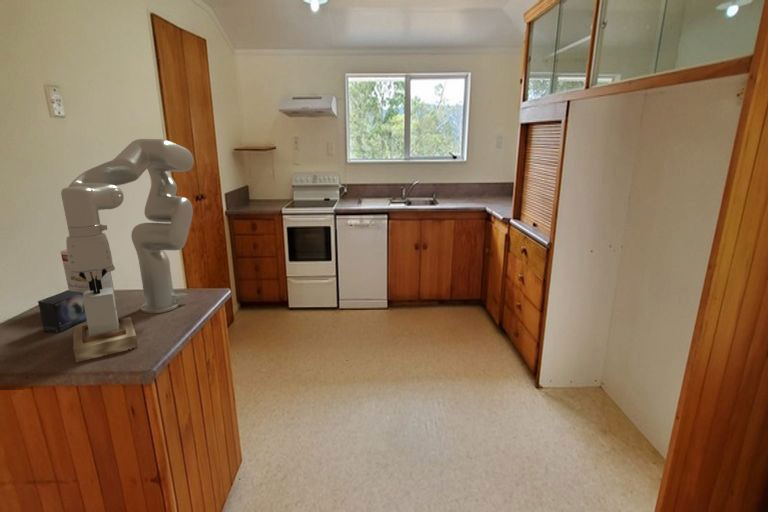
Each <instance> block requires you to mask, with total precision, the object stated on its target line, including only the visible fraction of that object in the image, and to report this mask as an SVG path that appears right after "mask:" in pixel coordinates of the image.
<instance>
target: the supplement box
mask: <svg viewBox="0 0 768 512" xmlns="http://www.w3.org/2000/svg"><path fill="white" fill-rule="evenodd" d="M113 287H114V286H113ZM113 287H108V288H102V289H100V293H96V294H94V293H93V291H90V290H88V291H84V295H83V303H84V308H85V313H86V319H87V321H86V323H87V324H86V325H88V329H89V334H90V337H91V336H96V335H101V334H105V333H110V332H115V331H119V322H118V319H119V317H118V311H117V306H116V305H117V304H116V301H115V298H116V297H115V298H114V293H115V291H114V292H113ZM96 292H97V289H96Z"/></svg>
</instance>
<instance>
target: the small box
mask: <svg viewBox="0 0 768 512" xmlns="http://www.w3.org/2000/svg"><path fill="white" fill-rule="evenodd" d="M37 303H38V308H39V313H40V316H41V318H40V319H41V322H42V327H43V331H44V332H48V333H55V334H59V333H62V332H64V331H67V330H68V329H71V328H74V327H76V326H78V325H80V324H82V323H85V322H87V321H86V320H87V319H86V313H85V308H84V303H83V293H82V292H76V291H69V289H68V290H65V291H63V292H59V293H57V294H54V295H51V296H48V297H46V298H43V299H41V300H40V299H39V300H38V301H37Z"/></svg>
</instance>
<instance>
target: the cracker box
mask: <svg viewBox="0 0 768 512" xmlns="http://www.w3.org/2000/svg"><path fill="white" fill-rule="evenodd" d="M60 255H61V260H62V264H63V269H64V275H65V278H66V279H65V280H66V284H67V288H68V290H69V291H76V292H82V293H83V295H84V291H88V290H90V287H89V282H88V281H87V280H86V279H84V278H82V277H75V276H70V267H69V262H68V255H67V248H66V249H64V250H61V251H60ZM90 274H91V276H92V277H93V279H94V281H95V276H96V270H93V271H90ZM101 283H102V288H108V287H113V292H114V298H115V302H116V301H117V299H116V294H115V288H114V282H113V276H112V271H111V272H107V273H106V274H105V275H104V276H103V277H102V279H101ZM95 286H96V283H95Z"/></svg>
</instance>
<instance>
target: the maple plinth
mask: <svg viewBox="0 0 768 512" xmlns="http://www.w3.org/2000/svg"><path fill="white" fill-rule="evenodd" d="M118 322H119V331H115V332H110V333H105V334H101V335H96V336H91V337H90V334H89V329H88V324H84V325H81V326H77V327H73V340H72V341H73V346H72V347H73V354H74V358H75V359H74V360H75V363H79V361H80V362H84V361H87V360H92V359H96V358H101V357H104V356H103V355H105V356H109V355H112V354H116V353H120V352H125V351H129V350H128V349H130V350H133V349H132V348H134V349H136V348H135V347H138V348H139V345H138V339H137V334H136V331H135V327H134V323H133V321H132V317H131V316H128V317H120V318H119V317H118ZM108 354H109V355H108ZM91 358H92V359H91ZM83 360H84V361H83Z"/></svg>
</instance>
